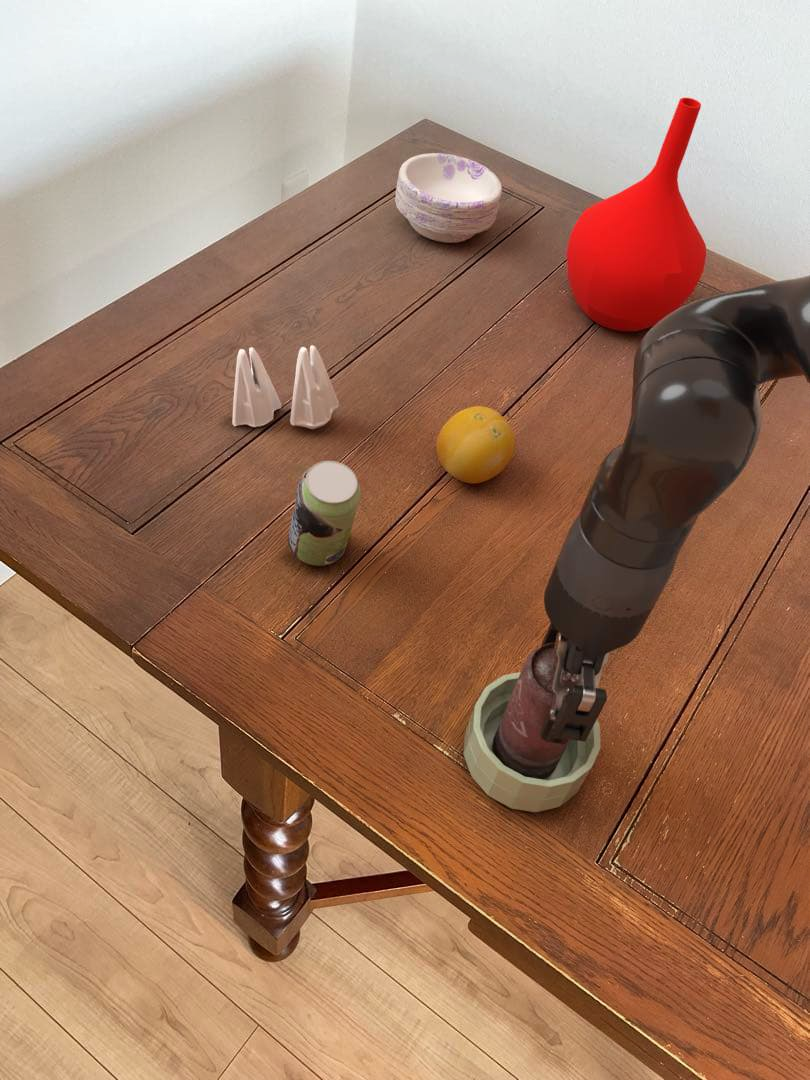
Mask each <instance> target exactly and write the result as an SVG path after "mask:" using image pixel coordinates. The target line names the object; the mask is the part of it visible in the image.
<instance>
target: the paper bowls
mask: <svg viewBox="0 0 810 1080" xmlns="http://www.w3.org/2000/svg"><path fill="white" fill-rule="evenodd" d="M502 193H503V185H502V183H501V181H500V178H499V177H498V175H496V174H495V173H494V172H493V170H491V169H490V168H488V167H486V166H485V165H483V164H481V163H479V162H477V161H475V160H472V159H469V158H466V157H463V156H461V155H455V154H451V153H442V152H441V153H439V152H433V153H432V152H431V153H421V154H418V155H414V156H412V157H410V158H408V159H406V160H405V161H404V162H403V163H402V164H401V166H400V168H399V170H398V177H397V182H396V188H395V197H394V202H395V206H396V209H397V210H398V211H399V212H400V214H402V216H403V217H405V219H407V220H408V223H409V224H410V226H411V228H413V230H414V231H415V232H417V233H418V234H419V235H421V236H422V237H424V238H426V239H429V240H431V241H435V242H438V243H446V244H447V243H449V244H456V243H462V242H465V241H467V240H470V239H472V237H474V236H475V235H476V234H481V233H484V232H485V231H487V230H489V229H490V228H491V227H492V226H493V225H494V223H495V222H496V218H497V215H498V210H499V206H500V201H501V199H502Z"/></svg>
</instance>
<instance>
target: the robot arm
mask: <svg viewBox="0 0 810 1080" xmlns="http://www.w3.org/2000/svg"><path fill="white" fill-rule="evenodd" d="M636 348H637V349H636V351H635V354H634V358H633V368H632V369H633V371H632V391H631V392H632V393H631V409H630V412H631V413H630V419H629V424H628V427H627V430H626V434H625V436H624V437H625V438H624V440H623V443H620V444H619V445H618V446H616V447H614V448H613V449H612V450H611V451H610V452H609V453H608V454H607V455H606V456H605V457H604V459H603V461H602V462H601V463H600V466H599V467H598V469H597V471H596V473H595V475H594V478H593V479H592V483H591V484H590V487H589V488H588V491H587V494H586V497H585V499H584V502H583V504H582V507H581V510H580V511H579V513H578V515H577V516H576V518H575V519H574V521H573V522H572V524H571V526H570V528H569V530H568V532H567V533H566V535H565V536H566V537H565V538H564V541H563V544H562V547H561V548H560V552H559V554H558V556H557V558H556V562H555V563H554V567H553V569H552V572H551V574H550V576H549V579H548V582H547V584H546V586H545V589H544V595H543V605H544V609H545V613H546V616H547V617H548V619H549V626H548V628H547V629H546V630H547V631H546V632H545V635H544V637H543V639H542V642H541V645H540V647H541V646H543V645H546V644H549V643H555V646H554V650H555V652H556V657H555V661H554V666H553V671H552V675H551V680H550V684H551V687H552V689H553V692H554V697H553V701H552V706H551V709H550V711H549V714H548V716H547V718H546V720H545V722H544V724H543V726H542V728H541V739H542V740H544V741H546V742H547V743H553V744H559V745H565V744H566V742H568V740H569V739H571V740H578V741H584V742H585V741H586V739H587V737H588V735H589V734H590V732H591V730H592V728H593V726H594V724H595V722H596V720H597V721H598V718H599V717H600V714H601V713H602V710H603V708H604V707H605V704H606V702H607V700H608V695H607V690H606V689H604V688H599V686H600V681H601V678H602V677H601V676H602V674H603V670H604V669H603V668H604V666H605V665H606V664H607V663H608V662H609V657H610V653H611V652H613V651H615V650H618V649H620V648H623V647H625V646H627V645H629V644H630V643H632V642H633V641H635V639H636V638H637V637H638V636H639V635H640V633H641V632H642V629H643V628H644V627H645V624H646V622H647V620H648V618H649V617H650V615H651V613H652V611H653V609H654V608H655V606H656V604H657V602H658V600H659V599H660V596H661V595H662V593H663V591H664V589H665V588H666V586H667V584H668V582H669V580H670V578H671V576H672V574H673V571H674V569H675V565H676V561H677V559H678V556H679V554H680V552H681V550H682V548H683V546H684V544H685V543H686V540H687V539H688V537H689V535H690V533H691V531H692V529H693V528H694V526H695V524H696V523H697V520H698V518H699V516H700V515H701V514H702V513H703V512H705V511H706V510H707V509H708V508H709V507H710V506H711V505H712V504H713V503H715V501H716V500H717V499H719V497H720V496H721V495H723V493H724V492H726V491H727V489H728V488H729V487H730V486H731V485H732V484H733V483H734V482H735V481H736V480H737V479H738V477H739V476H740V475H741V473H742V472H743V471H744V470H745V468H746V467H747V464H748V463H749V461H750V459H751V456H752V454H753V453H754V450H755V447H756V445H757V442H758V439H759V436H760V432H761V427H762V415H763V414H762V404H761V402H762V401H761V393H760V385H762V384H765V383H769V382H772V381H776V380H781V379H782V380H783V379H788V378H793V377H800V376H804V378H805V379H806V381H807V382H808V383H809V384H810V274H808V275H806V276H801V277H796V278H790V279H789V278H788V279H783V280H778V281H777V280H776V281H770V282H767V283H762V284H758V285H755V286H749V287H746V288H741V289H737V290H732V291H727V292H722V293H718V294H715V295H710V296H707V297H704V298H703V297H702V298H700V299H697V300H694V301H692V302H689V303H687V304H685V305H681V306H680V307H679V308H678V309H677V310H675V311H673V312H672V313H670V314H668V315H667V316H666V317H664V318H663V319H661V320H660V321H659V322H658V323H656V324H655V325H654V326H651V327H650V329H649V330H648V331H646V333H645V334H644V336H643V337H642V338H641V340H640V341H639V343H638V345H637V347H636ZM563 670H564V671H566V672H568V673H572V674H577V675H578V674H579V679H578V682H574V681H568V680H563V679H561V677H562V672H563ZM565 695H566V697H565V699H564V701H563V703H562V700H563V697H564V696H565Z"/></svg>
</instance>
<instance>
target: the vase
mask: <svg viewBox="0 0 810 1080" xmlns="http://www.w3.org/2000/svg"><path fill="white" fill-rule="evenodd" d="M701 108H702V103H701V102H700V101H698V100H697V99H695V98H691V97H681V98H680V99H679V101H678V103H677V105H676V109H675V111H674V113H673V116H672V118H671V121H670V123H669V127H668V129H667V132H666V134H665V137H664V140H663V143H662V145H661V148H660V151H659V154H658V156H657V160H656V162H655V165H654V167H652V169H651V171H650V172H649V173H648V174H647V175H646V176H645V177H643V178H642V179H641V180H639V181H637V182H636V183H634V184H632V185H630V186H629V187H626V188H625V189H623V190H621V191H620V192H618V193H616V194H613V195H612V196H611V195H610V196H609V197H606V198H605V199H603V200H600V201H598V202H596V203H594V204H592V205H590V206H589V207H586V209H584V210H583V212H582V213H581V215H580V216H579V217H578V219H577V221H576V222H575V225H574V226H573V228H572V230H571V232H570V235H569V239H568V243H567V247H566V265H567V266H566V268H567V269H566V270H567V279H568V283H569V286H570V289H571V292H572V294H573V297H574V300H575V302H576V303H577V305H578V306H579V308H580V309H581V311H583V313H584V314H585V315H586V317H588V318H589V319H590V320H591V321H592V322H594V323H595V324H598V325H599V326H602V327H604V328H606V329H609V330H613V331H616V332H624V333H625V332H626V333H629V332H638V331H641V330H645V329H648V328H652V327H653V326H654V325H655V324H656V323H658V322H659V321H660V320H661V319H663V318H664V317H666V316H667V315H668V314H670V313H672V312H673V311H675V310H677V309H679V308H680V307H682V306H683V304H684V303H685V302H686V301H687V300H688V299H689V297H691V295H692V294H694V292H695V290H696V288H697V286H698V284H699V281H700V280H701V278H702V276H703V273H704V270H705V265H706V259H707V258H706V257H707V244H706V242H705V240H704V238H703V236H702V234H701V232H700V231H699V229H698V227H697V225H696V223H695V222H694V219H693V218H692V216H691V215H690V212H689V210H688V208H687V205H686V203H685V200H684V198H683V196H682V193H681V192H680V188H679V181H678V178H679V171H680V168H681V165H682V162H683V160H684V157H685V155H686V152H687V149H688V147H689V143H690V140H691V137H692V134H693V132H694V128H695V126H696V123H697V120H698V116H699V113H700V110H701Z"/></svg>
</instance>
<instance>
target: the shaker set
mask: <svg viewBox="0 0 810 1080" xmlns="http://www.w3.org/2000/svg"><path fill="white" fill-rule="evenodd" d="M248 354H249V358H248V355H247V352H246V350H245V349H243V348H240V349H239V350H238V352H237V356H236V365H235V376H234V386H233V387H234V389H233V401H232V402H233V403H232V418H231V419H232V422H231V424H232V425H233V427H237V426H243V425H247V426H249V427H252V428H257V427H262V426H264V425H267V424H269V423H270V422H272V421H273V420H274V414H275V413H274V412H275V411H276V410H279V409H282V407H283V404H282V402H281V401H280V398H279V395H278V393H277V390H276V389H275V387H274V385H273V383H272V380H271V378H270V375H269V374H268V372H267V370H266V368H265V366H264V363H263V361H262V359H261V357H260V356H259V353H258V352H257V351H256V349H255V348H254V347H252V346H251V347H249V348H248ZM249 361H250V362H249ZM339 407H340V402H339V401H338V398H337V395H336V392H335V389H334V387H333V384H332V381H331V378H330V376H329V374H328V371H327V369H326V366H325V364H324V361H323V359H322V355H321V354H320V352H319V350H318V348H317V347H316V346H315V345H313V344H311V345H310V346H309V351H308V349H307V348H306V347H305V346H302V347H300V349H299V350H298V355H297V359H296V367H295V375H294V383H293V391H292V399H291V409H290V420H289V423H290V425H291V426H294V427H295V426H298V427H303V428H305V429H306V428H307V429H310V430H315V429H318V428H322V427H323V426H325V425H326V424H327V423H328V422H329V421H330V420H331V419H332V414H333V413H334V411H336V409H339Z"/></svg>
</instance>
